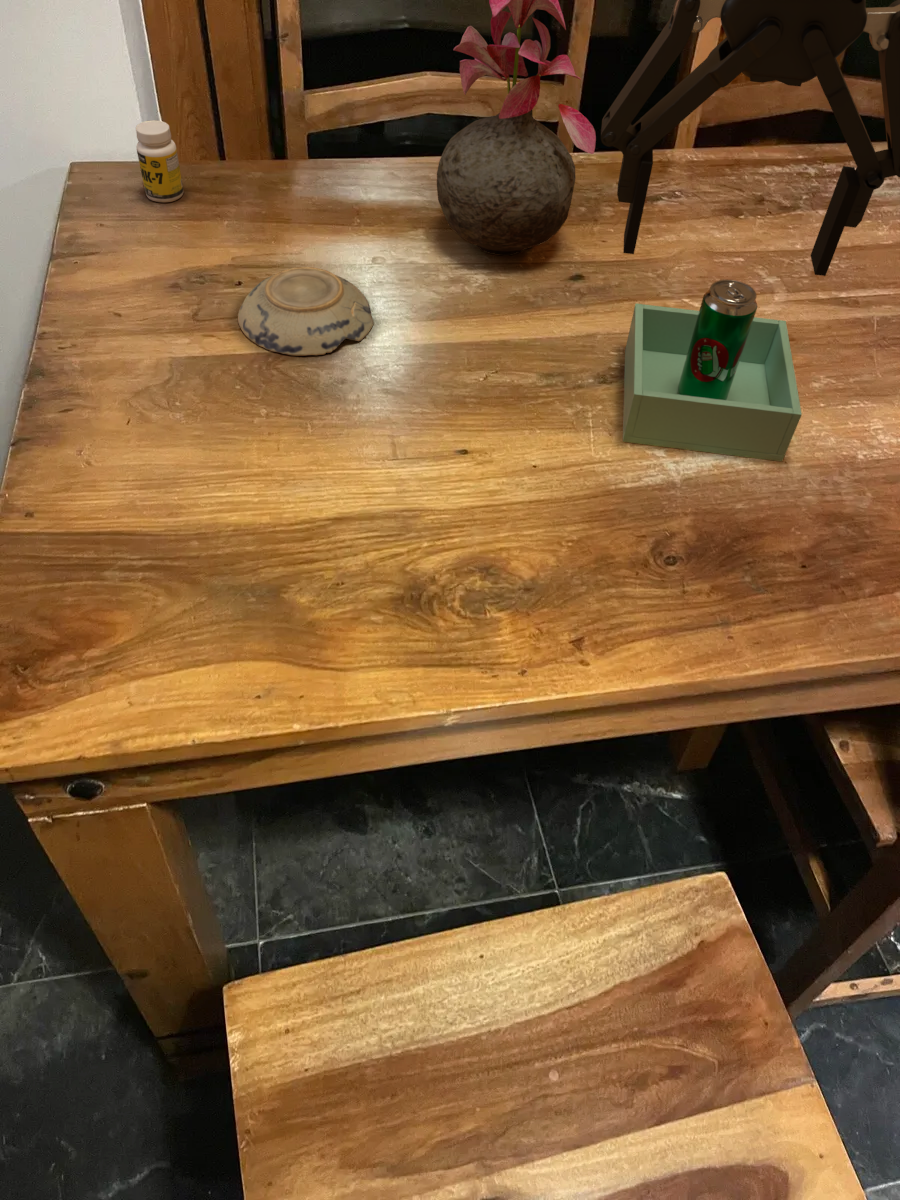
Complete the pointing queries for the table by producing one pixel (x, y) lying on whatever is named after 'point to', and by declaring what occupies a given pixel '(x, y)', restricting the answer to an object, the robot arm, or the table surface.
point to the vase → (511, 143)
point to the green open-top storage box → (733, 426)
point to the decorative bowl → (304, 312)
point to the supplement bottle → (158, 162)
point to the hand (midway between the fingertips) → (722, 255)
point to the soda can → (718, 340)
